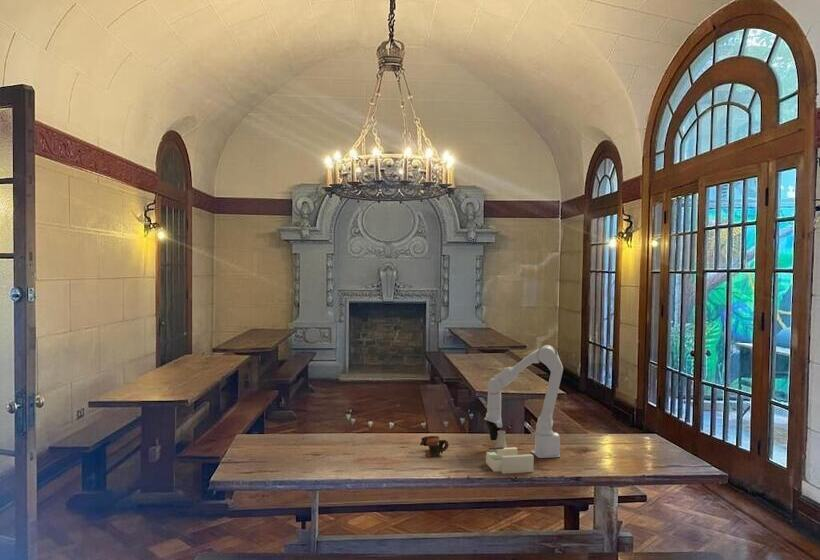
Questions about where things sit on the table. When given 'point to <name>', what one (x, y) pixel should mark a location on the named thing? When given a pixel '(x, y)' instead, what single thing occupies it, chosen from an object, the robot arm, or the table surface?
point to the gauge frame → (510, 462)
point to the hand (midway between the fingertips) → (493, 439)
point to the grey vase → (500, 440)
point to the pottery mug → (434, 445)
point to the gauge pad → (505, 451)
